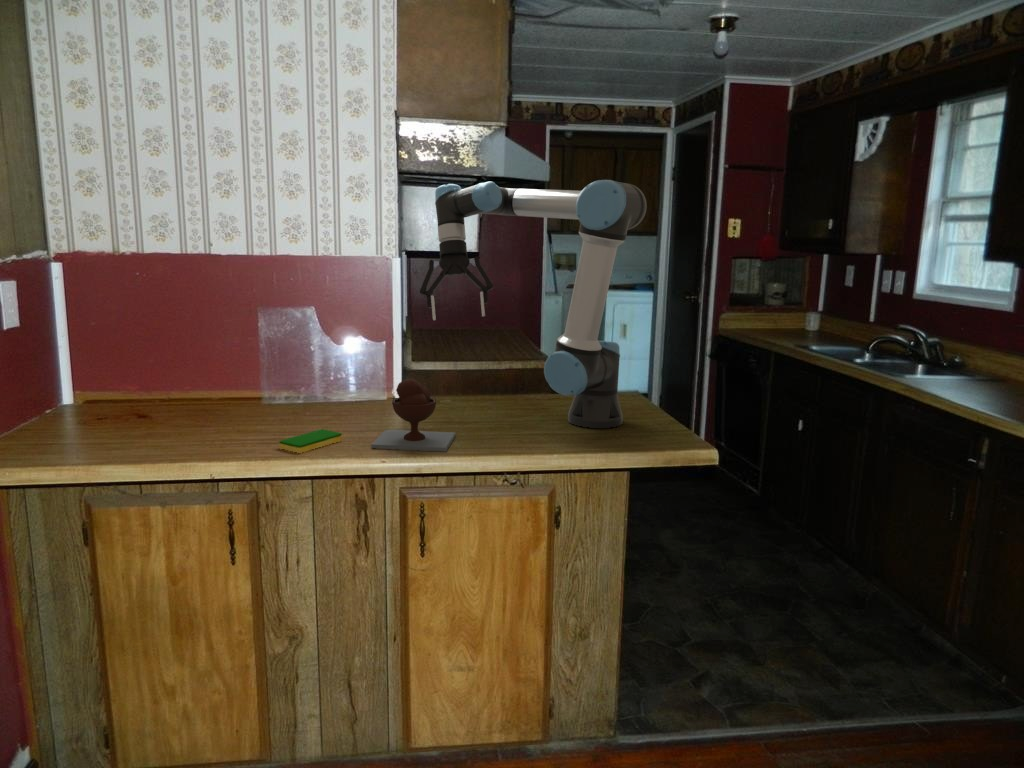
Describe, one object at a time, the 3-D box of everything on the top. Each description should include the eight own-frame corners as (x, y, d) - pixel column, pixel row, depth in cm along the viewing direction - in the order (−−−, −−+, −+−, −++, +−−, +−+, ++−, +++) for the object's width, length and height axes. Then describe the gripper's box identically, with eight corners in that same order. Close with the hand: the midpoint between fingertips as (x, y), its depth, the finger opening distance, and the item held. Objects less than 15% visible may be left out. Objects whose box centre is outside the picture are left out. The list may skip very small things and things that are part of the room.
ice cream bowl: (429, 445, 178) (429, 383, 175) (385, 442, 180) (384, 381, 177) (442, 434, 188) (442, 375, 185) (400, 431, 190) (399, 373, 187)
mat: (455, 436, 190) (455, 432, 190) (445, 451, 176) (445, 447, 176) (385, 433, 192) (385, 429, 191) (371, 448, 178) (371, 444, 178)
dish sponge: (278, 450, 176) (278, 440, 176) (322, 437, 188) (322, 428, 187) (299, 455, 172) (299, 445, 172) (342, 442, 184) (342, 432, 184)
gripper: (496, 241, 212) (503, 316, 211) (408, 248, 210) (414, 323, 209) (497, 235, 204) (504, 312, 203) (406, 242, 203) (412, 319, 202)
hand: (459, 317), depth 206 cm, fingers open, 13 cm apart
